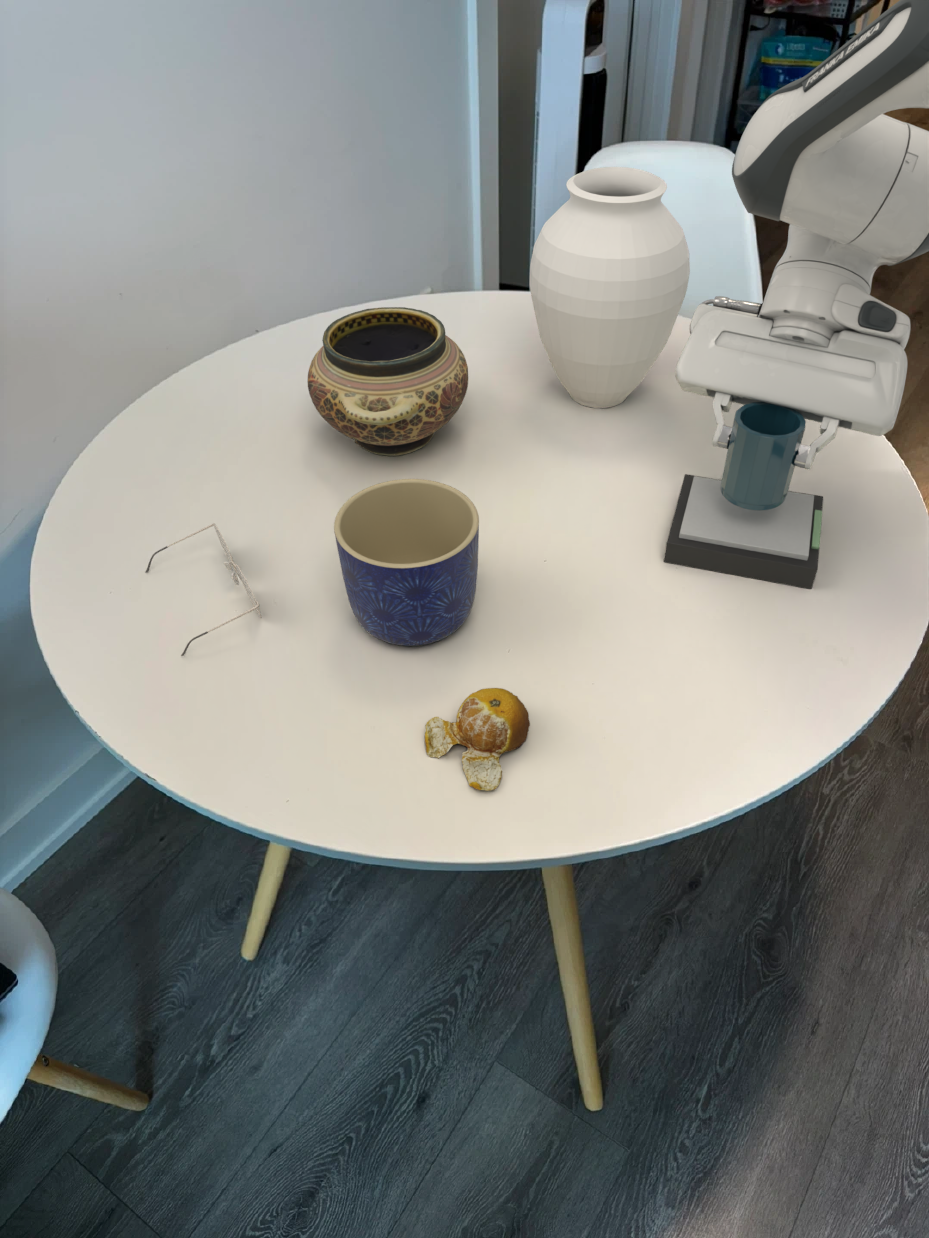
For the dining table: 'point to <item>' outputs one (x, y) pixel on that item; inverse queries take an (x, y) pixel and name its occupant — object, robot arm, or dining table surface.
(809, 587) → the scale
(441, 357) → the ceramic bowl
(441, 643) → the dining table surface
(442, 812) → the dining table surface
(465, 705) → the fruit
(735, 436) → the cup
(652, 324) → the vase
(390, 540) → the planter
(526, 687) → the dining table surface
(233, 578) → the eyeglasses
